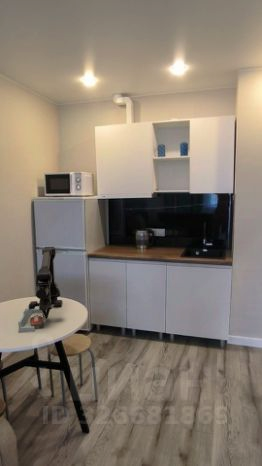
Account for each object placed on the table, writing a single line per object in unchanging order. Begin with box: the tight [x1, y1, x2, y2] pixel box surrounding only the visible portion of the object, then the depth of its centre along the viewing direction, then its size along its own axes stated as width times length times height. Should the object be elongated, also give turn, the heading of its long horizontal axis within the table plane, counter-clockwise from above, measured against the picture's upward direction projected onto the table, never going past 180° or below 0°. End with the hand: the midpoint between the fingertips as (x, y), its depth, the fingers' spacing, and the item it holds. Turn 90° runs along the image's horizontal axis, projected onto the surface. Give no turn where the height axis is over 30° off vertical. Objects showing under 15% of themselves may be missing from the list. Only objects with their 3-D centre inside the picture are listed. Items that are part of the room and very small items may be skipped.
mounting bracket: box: [17, 304, 43, 333], centre depth 186 cm, size 26×8×7 cm, turn 5°
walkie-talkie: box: [29, 313, 47, 330], centre depth 185 cm, size 9×4×20 cm
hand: (46, 318), depth 187 cm, fingers closed
